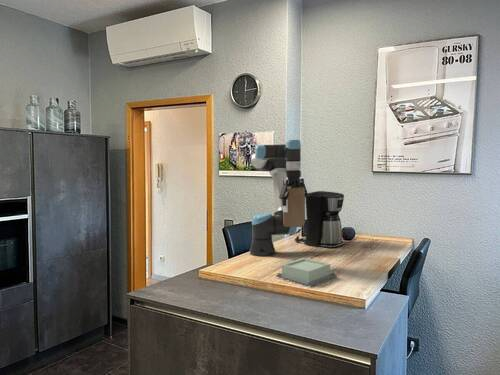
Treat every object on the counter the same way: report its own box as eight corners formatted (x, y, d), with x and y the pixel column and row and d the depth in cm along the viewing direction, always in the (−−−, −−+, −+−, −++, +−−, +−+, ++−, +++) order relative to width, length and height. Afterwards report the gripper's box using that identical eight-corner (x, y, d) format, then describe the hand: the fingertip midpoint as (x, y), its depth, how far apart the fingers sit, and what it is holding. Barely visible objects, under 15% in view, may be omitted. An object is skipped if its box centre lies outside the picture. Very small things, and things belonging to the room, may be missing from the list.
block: (302, 227, 199) (302, 188, 197) (283, 227, 202) (282, 188, 200) (305, 224, 208) (305, 186, 207) (286, 223, 211) (286, 186, 210)
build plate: (276, 277, 185) (275, 264, 185) (303, 268, 199) (302, 256, 199) (309, 287, 171) (309, 273, 170) (336, 276, 184) (336, 263, 184)
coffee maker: (343, 249, 238) (343, 194, 235) (290, 247, 246) (290, 193, 244) (344, 241, 260) (344, 190, 257) (296, 239, 268) (295, 190, 266)
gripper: (282, 170, 192) (283, 214, 193) (314, 168, 208) (314, 208, 210) (271, 170, 197) (272, 212, 199) (303, 168, 214) (303, 207, 216)
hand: (294, 210), depth 204 cm, fingers closed on block, 13 cm apart
